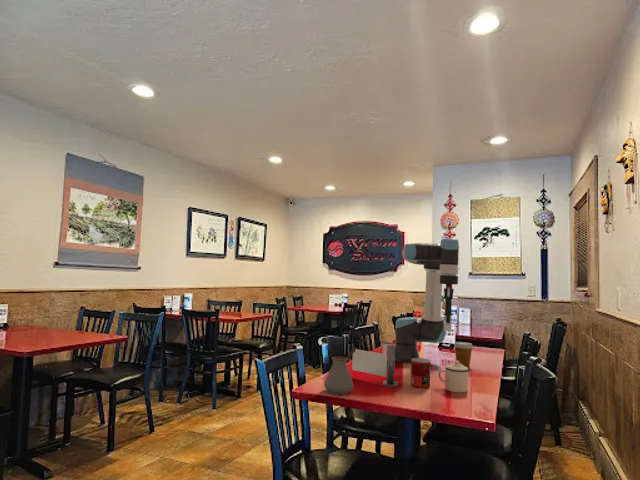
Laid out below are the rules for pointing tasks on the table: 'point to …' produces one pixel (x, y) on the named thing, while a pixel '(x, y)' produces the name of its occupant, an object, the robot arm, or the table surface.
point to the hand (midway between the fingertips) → (447, 330)
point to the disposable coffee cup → (463, 353)
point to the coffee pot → (339, 376)
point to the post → (390, 368)
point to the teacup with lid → (456, 377)
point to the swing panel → (371, 361)
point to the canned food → (420, 373)
